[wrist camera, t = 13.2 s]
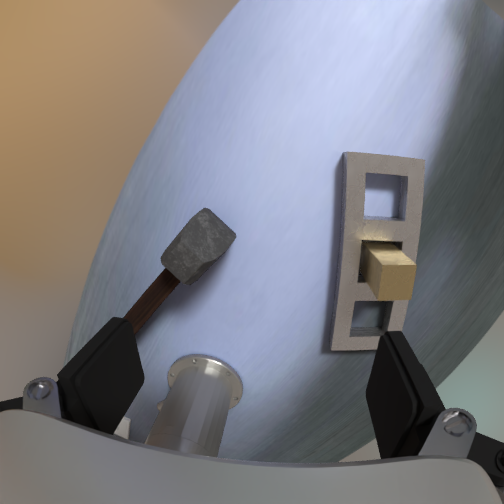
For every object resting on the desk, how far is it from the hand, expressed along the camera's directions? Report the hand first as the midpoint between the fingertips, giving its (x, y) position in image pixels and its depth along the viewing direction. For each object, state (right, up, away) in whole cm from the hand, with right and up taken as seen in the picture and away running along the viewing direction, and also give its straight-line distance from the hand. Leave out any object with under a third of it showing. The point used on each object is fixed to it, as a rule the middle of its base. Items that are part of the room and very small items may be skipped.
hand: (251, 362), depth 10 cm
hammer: (-13, -1, +32) cm, 35 cm away
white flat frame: (+16, +4, +27) cm, 32 cm away
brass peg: (+16, +3, +27) cm, 32 cm away
